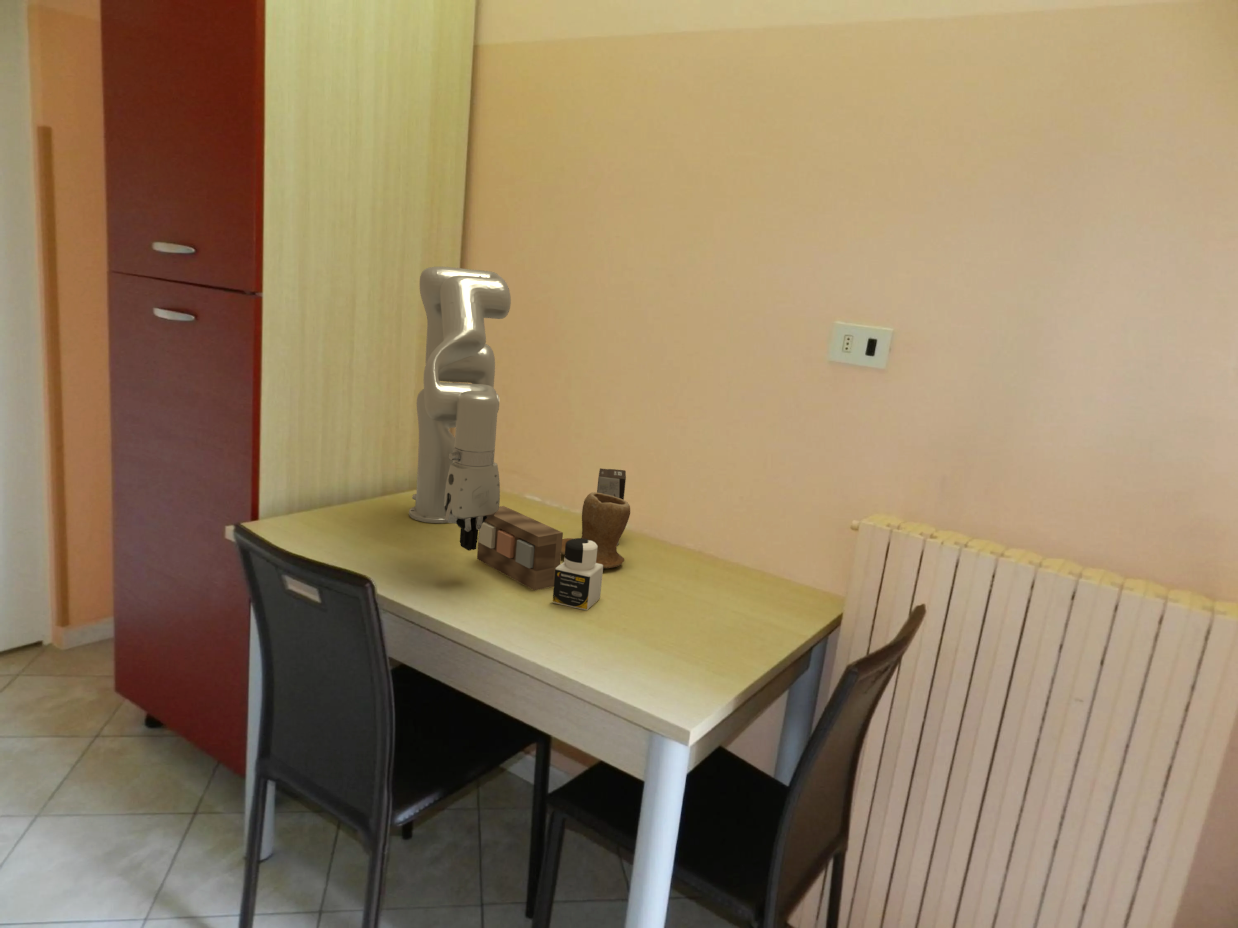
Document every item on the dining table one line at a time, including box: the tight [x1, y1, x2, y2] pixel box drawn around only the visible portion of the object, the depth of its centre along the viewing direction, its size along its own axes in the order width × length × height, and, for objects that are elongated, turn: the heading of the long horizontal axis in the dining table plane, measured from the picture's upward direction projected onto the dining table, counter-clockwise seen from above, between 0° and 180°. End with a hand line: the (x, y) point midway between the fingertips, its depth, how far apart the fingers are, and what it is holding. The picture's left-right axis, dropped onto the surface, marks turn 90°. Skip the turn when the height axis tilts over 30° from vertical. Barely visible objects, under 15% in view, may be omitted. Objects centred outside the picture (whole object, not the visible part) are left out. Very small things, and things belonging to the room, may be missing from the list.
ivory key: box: [478, 521, 496, 548], centre depth 176 cm, size 4×4×4 cm
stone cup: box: [561, 491, 631, 569], centre depth 184 cm, size 15×12×15 cm
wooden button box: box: [476, 505, 564, 591], centre depth 173 cm, size 20×6×11 cm, turn 43°
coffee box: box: [596, 468, 627, 546], centre depth 200 cm, size 9×6×16 cm
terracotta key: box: [496, 530, 515, 558], centre depth 172 cm, size 4×4×4 cm
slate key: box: [515, 539, 535, 568], centre depth 167 cm, size 4×4×4 cm
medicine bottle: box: [552, 537, 604, 611], centre depth 161 cm, size 7×7×12 cm
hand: (468, 547), depth 165 cm, fingers closed
